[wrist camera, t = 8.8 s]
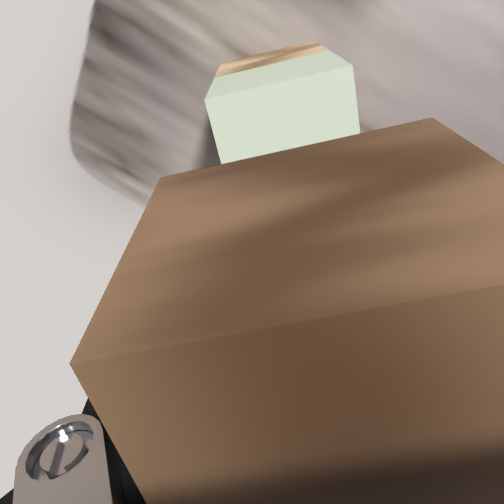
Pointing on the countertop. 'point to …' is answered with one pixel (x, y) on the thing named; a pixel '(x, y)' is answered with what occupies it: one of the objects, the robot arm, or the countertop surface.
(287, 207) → the walnut block
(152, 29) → the countertop surface
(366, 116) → the countertop surface
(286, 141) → the sage block
